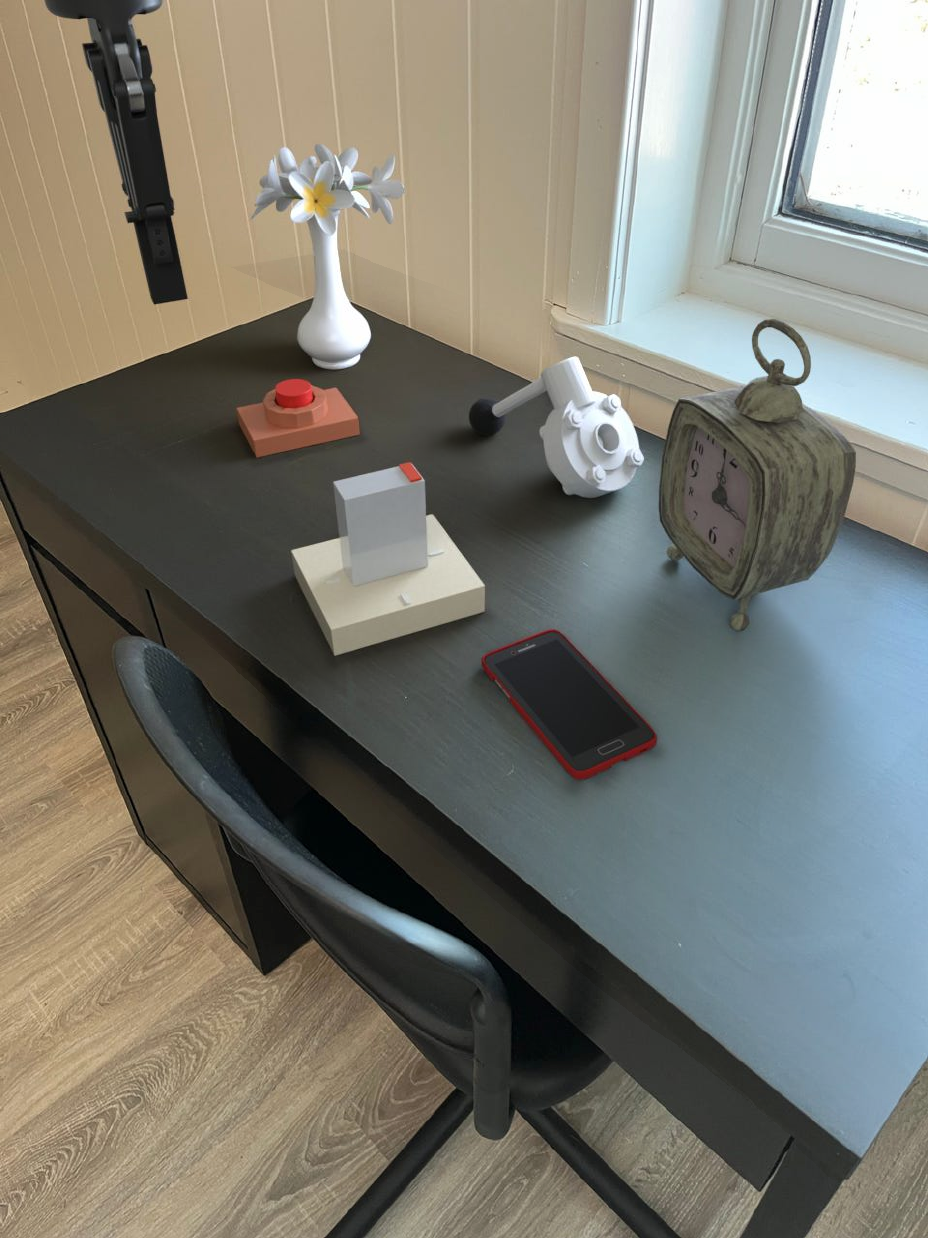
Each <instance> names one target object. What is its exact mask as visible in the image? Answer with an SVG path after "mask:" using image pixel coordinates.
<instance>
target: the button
mask: <svg viewBox="0 0 928 1238" xmlns="http://www.w3.org/2000/svg"><path fill="white" fill-rule="evenodd" d="M311 385H312V383H310V381H307V380H305V379H301V378H300V379H299V378H291V379H286V380H283V381H281V382H279V383H277V384H276V385H275V388H274V389H275V392H276V398H277V404H278V405H279V406H280V407H283V408H300V407H305V406H307V405H309V404H311V403H312V401H313V396H312V388H311Z"/></svg>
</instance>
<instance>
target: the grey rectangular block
mask: <svg viewBox="0 0 928 1238" xmlns="http://www.w3.org/2000/svg"><path fill="white" fill-rule="evenodd" d="M425 482H426V480H425V479H424V477H423V476H422V475H421V473H420V472H419V471H418V469H417V468H416V467H415V466H414V464H413V463H412V462H411V461H408V462H404V463H399V464H398V466H394V467H389V468H385V469H381V470H376V471H372V472H368V473H364V474H360V475H356V476H352V477H347V478H343V479H338V480H335V481H332V484H333V494H334V502H335V509H336V510H335V511H336V521H337V526H338V527H337V529H338V535H339V536H338V538H340V546H341V555H342V563H343V568H344V570H345V572H346V574H347V575H348V577H349V579H350V581H351V583H352V584H353V586H358V585H361V584H365V583H369V582H372V581H376V580H380V579H383V578H387V577H391V576H394V575H398V574H402V573H405V572H409V571H413V570H416V569H420V568H423V567H427V566H428V550H427V525H426V516H427V506H426V505H427V504H426V501H427V500H426V483H425Z"/></svg>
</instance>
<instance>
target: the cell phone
mask: <svg viewBox="0 0 928 1238" xmlns="http://www.w3.org/2000/svg"><path fill="white" fill-rule="evenodd" d="M481 667H482V669H483V671H484V672H485V673H486V675H487V676H488V677H489V679H490V680H491V681H492V682H494V683H495V684H496V685H497V686H498V688H499V689H500V690H501V692H502V693H503V694H504V695H505V697H507V699H508V701H509V703H510V704H511V706H512V707H513V708H514V709H515V710H516V711H517V713H518V714H519V715H520V716H521V718H522V719H523V720H524V721H525V722H526V724H527V726H529V727H530V729H531V730H532V731H533V733H535V735H536V736H537V737H538V738H539V740H540V741H541V742H542V743H543V744H544V746H545V747H546V748H547V749H548V750H549V752H550V753H551V754H552V755H553V757H554V758H555V759H556V760H557V762H558V763H559V764H560V766H561V767H563V769H564V771H566V772H567V773H568V774H569V775H570V776H571V777H572V778H573V779H574V780H577V781H582V780H583V781H584V780H587V779H590V778H593V777H594V776H597V775H598V773H600V772H602V773H603V772H606V771H607V770H609V769H611V768H612V767H613V765H614V764H616V763H618V762H621V761H623V762H626V761H629V760H631V759H633V758H635V757H637V756H639V755H642V754H644V753H646V752H648V751H650V750H652V749H653V748H655V746H656V745H657V743H658V734H657V733H656V732H655V730H654V729H653V728H652V726H651V725H650V724H649V723H648V722H647V720H645V719H644V717H642V716H641V714H639V712H638V711H636V709H635V708H634V707H633V706H632V705H631V704H630V703H629V702H628V701H627V700H626V698H625V697H624V696H622V694H620V692H619V691H618V690H617V689H616V688H615V687H614V686H613V685H612V684H611V683H610V682H609V680H607V678H605V676H603V674H602V673H601V672H600V671H599V670H597V668H596V667H595V666H594V665H593V664H592V662H590V661H589V660H588V659H587V658H586V657H585V656H584V655H583V654H582V652H581V651H580V650H579V649H578V648H577V647H576V646H575V645H574V644H573V643H572V642H571V641H570V640H569V639H568V637H566V635H564V634H563V633H562V632H561V631H559V630H558V629H555V628H553V629H546V630H543V631H540V632H538V633H536V634H533V635H530V636H528V637H525V638H522V639H520V640H517V641H515V642H511V643H510V644H506V645H505V646H502V647H500V648H497V649H494V650H492V651H490V652H487V653H486V654H484V655H483V656H482V657H481Z"/></svg>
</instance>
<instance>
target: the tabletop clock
mask: <svg viewBox="0 0 928 1238" xmlns="http://www.w3.org/2000/svg"><path fill="white" fill-rule="evenodd" d="M766 328H772V329H774V330H777V331H779V332H780V333H782V334H783V335H785V336H787V337H788V338H789V339H790V340H791V341H792V342H793V343H794V345H795V346H796V347H797V350H799V353H800V355H801V359H802V361H803V373H802V375H801V376H799V377H793V376H789V375H787V374H786V373H784V370H785V367H786V363H785V361H784V360H783V359H781V358H775V359H773V360H772V361H771V362H769V360H768V359H767V358H766V357H765V355H764V354H763V352H762V350H761V348H760V346H759V336H760V333H761V332H762V331H763V330H765V329H766ZM751 344H752V345H751V348H752V351H753V354H754V358H755V360H756V361H757V364H758V365H759V366H760V367H761V368H762V370H763V371H764V372H765V373H766V375H764V376H759V377H755V378H753V379H752V380H750V381H749V382H748V383H747V384H746V385H740V386H736V387H731V388H726V389H720V390H717V391H716V390H715V391H711V392H705V393H702V394H696V395H692V396H687V397H681V398H679V399H678V400H677V403H676V404H675V406H674V408H673V410H672V413H671V417H670V420H669V424H668V428H667V431H666V437H665V441H664V447H663V451H662V457H661V468H660V476H659V487H658V513H659V514H658V516H659V522H660V524H661V526H662V528H663V530H664V532H665V534H666V535H667V537H668V538H669V540H670V541H671V542H672V544H671V545H670V546H669V547H667V550H666V555H667V557H668V558H669V559H670V560H671V561H675V562H677V561H680V560H681V559H683V558H684V559H685V560H686V561H687V563H689V565H690V566H691V567H692V568H693V569H694V570H695V571H696V572H697V573H698V574H699V575H700V576H701V577H702V578H703V579H704V580H705V581H706V582H708V584H709V585H710V586H712V587H713V588H714V589H715V590H716V591H717V592H718V593H720V594H721V595H723V596H724V597H726V598H729V599H731V600H733V601H736V600H740V601H739V608H738V612H735V613H733V615H732V616H731V617H730V619H729V624H730V626H731V628H732V629H733V630H734V631H737V632H743V631H745V630H746V629H747V628H748V627H749V625H750V622H751V620H750V617H749V616H748V615H747V613H746V612H747V609H748V606H749V604H750V601H751V598H752V596H755V595H758V594H762V593H765V592H770V591H772V590H776V589H780V588H783V587H784V588H785V587H786V586H790V585H795V584H798V583H802V582H806V581H808V580H809V579H810V578H812V576H813V575H814V574H815V573H816V572H817V570H818V569H819V568H820V567H821V566H822V565H823V563H824V562H825V561H826V560H827V559H828V557H829V555H830V554H831V552H832V550H833V548H834V546H835V543H836V540H837V537H838V535H839V532H840V530H841V527H842V524H843V521H844V519H845V516H846V513H847V509H848V505H849V500H850V497H851V492H852V489H853V485H854V481H855V475H856V468H857V452H856V450H855V448H854V447H853V445H852V444H851V442H850V440H849V439H848V438H847V437H846V436H845V435H844V434H843V433H842V432H841V431H840V430H838V429H837V428H836V426H833V424H832V423H830V422H829V421H828V420H826V419H825V418H824V417H822V416H821V415H820V414H819V413H818V412H817V411H815V410H813V409H812V408H811V407H809V406H808V405H806V404H804V403H803V399H802V396H801V394H800V393H799V391H798V390H797V388H796V387H798V386H800V385H801V384H804V383H805V382H806V381H807V379H808V378H809V376H810V373H811V369H812V360H811V359H812V358H811V354H810V350H809V348H808V344H807V343H806V341H805V340H804V338H803V336H802V335H801V334H800V333H799V332H798V331H796V329H795V328H794V327H792V326H790V325H789V324H787V323H786V322H784V321H781V320H780V319H776V318H769V319H768V318H767V319H764V320H762V321H760V322H758V324H757V325H756V327H755V328H754V330H753V333H752V334H751Z"/></svg>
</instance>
